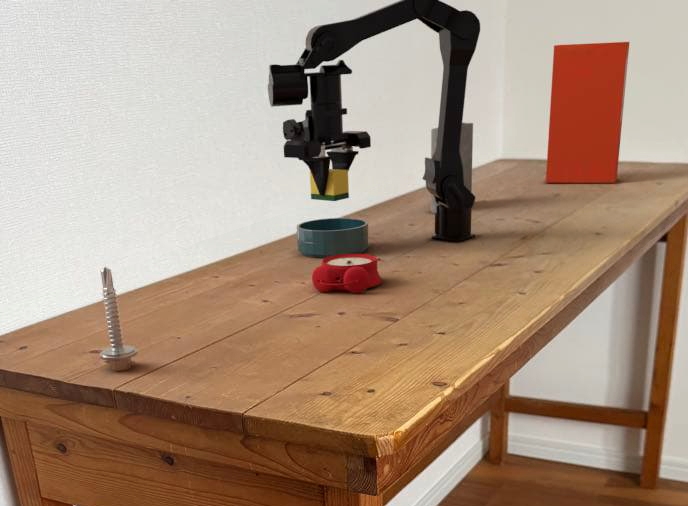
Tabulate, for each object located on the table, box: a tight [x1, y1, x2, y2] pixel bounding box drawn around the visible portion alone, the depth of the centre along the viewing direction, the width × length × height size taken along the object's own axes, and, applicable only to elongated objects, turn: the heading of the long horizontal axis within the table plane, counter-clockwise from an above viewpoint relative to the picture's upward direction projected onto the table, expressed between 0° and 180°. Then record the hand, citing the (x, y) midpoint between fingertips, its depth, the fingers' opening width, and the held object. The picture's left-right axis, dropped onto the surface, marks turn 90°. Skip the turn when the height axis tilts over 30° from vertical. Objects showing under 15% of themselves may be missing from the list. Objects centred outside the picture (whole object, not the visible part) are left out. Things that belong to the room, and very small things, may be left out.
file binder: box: [545, 41, 630, 184], centre depth 239 cm, size 8×17×32 cm, turn 71°
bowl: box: [296, 217, 370, 259], centre depth 182 cm, size 14×14×5 cm
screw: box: [99, 266, 138, 372], centre depth 120 cm, size 13×5×5 cm
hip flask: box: [430, 122, 474, 214], centre depth 216 cm, size 16×4×20 cm, turn 144°
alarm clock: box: [311, 253, 382, 294], centre depth 155 cm, size 10×6×15 cm
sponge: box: [309, 168, 350, 202], centre depth 179 cm, size 6×4×5 cm
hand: (330, 193), depth 179 cm, fingers closed on sponge, 4 cm apart
